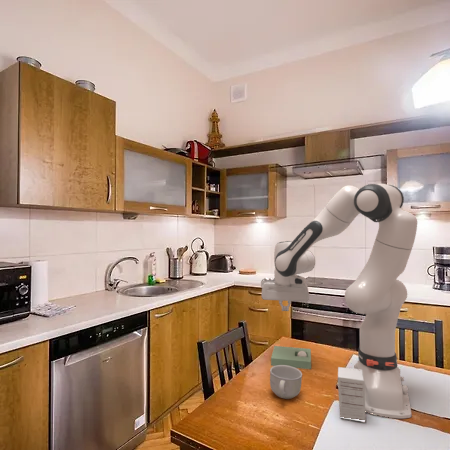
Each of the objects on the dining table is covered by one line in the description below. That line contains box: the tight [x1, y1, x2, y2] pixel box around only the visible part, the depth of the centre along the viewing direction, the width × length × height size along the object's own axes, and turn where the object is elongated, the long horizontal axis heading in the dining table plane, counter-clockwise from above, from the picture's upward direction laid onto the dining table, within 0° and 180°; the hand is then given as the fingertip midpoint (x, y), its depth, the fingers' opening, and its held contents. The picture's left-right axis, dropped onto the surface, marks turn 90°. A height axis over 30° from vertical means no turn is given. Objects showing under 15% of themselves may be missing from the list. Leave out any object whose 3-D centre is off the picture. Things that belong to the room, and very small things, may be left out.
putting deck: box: [270, 345, 312, 370], centre depth 138 cm, size 14×16×3 cm
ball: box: [297, 351, 307, 357], centre depth 137 cm, size 4×4×4 cm
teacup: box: [269, 365, 303, 400], centre depth 109 cm, size 14×11×8 cm
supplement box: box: [337, 366, 367, 422], centre depth 98 cm, size 7×7×13 cm
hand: (285, 310), depth 139 cm, fingers closed
